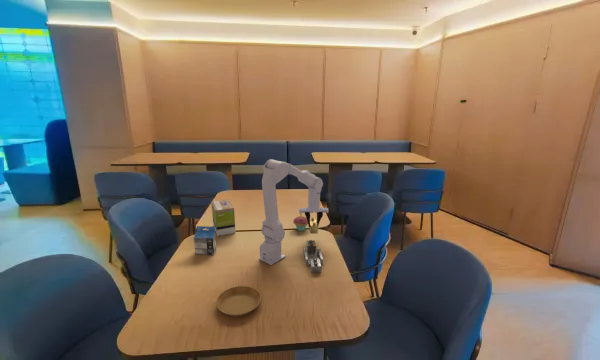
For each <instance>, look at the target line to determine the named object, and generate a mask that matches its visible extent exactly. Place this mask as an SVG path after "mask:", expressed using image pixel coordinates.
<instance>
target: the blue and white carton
mask: <svg viewBox="0 0 600 360" xmlns="http://www.w3.org/2000/svg"><path fill="white" fill-rule="evenodd" d="M193 242H194V243H193V246H194V254H195V255H211V256H213V255H215V254H216V253H217V240H216V231H215V227H214V226H202V225H201V226H199V225H196V232H195V234H194V236H193Z"/></svg>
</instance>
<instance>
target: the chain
mask: <svg viewBox="0 0 600 360" xmlns="http://www.w3.org/2000/svg"><path fill="white" fill-rule="evenodd" d="M305 241H306V244H305V245H306V246H305V247H303V256H304V263H305V266H309V268H310V273H311V274H318V273H319V274H321V273H322V266H323V265H324V257H323V253H322V250H321V247H319V246H318V247H317V245H316V241H315V240H314V239H313V240H312V239H309V240H305Z"/></svg>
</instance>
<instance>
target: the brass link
mask: <svg viewBox="0 0 600 360" xmlns="http://www.w3.org/2000/svg"><path fill="white" fill-rule="evenodd" d="M308 229H309V233H310V234H319V226H318V224H317V218H314V217H310V227H309V226H308Z"/></svg>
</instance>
